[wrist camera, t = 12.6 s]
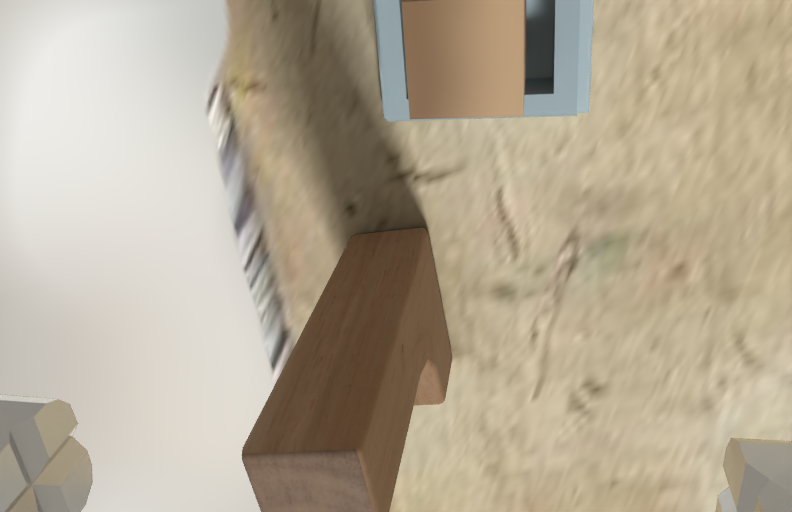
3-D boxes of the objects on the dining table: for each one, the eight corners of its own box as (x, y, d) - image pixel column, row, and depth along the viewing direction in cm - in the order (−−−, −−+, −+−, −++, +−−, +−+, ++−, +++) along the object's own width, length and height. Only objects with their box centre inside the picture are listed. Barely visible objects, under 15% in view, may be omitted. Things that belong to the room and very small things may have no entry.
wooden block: (454, 359, 44) (408, 629, 28) (382, 363, 45) (299, 626, 29) (428, 223, 40) (358, 448, 24) (350, 232, 41) (234, 453, 25)
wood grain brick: (526, -37, 32) (523, -6, 23) (526, 55, 34) (523, 116, 25) (436, -31, 33) (401, 2, 24) (441, 58, 35) (409, 119, 26)
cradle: (596, -123, 31) (604, -124, 28) (587, 106, 35) (593, 131, 32) (368, -103, 33) (348, -101, 29) (387, 113, 37) (372, 137, 34)
